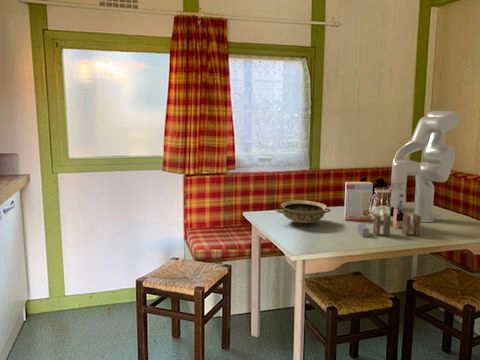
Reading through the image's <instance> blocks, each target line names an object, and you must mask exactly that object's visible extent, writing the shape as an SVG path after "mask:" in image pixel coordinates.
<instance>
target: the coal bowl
mask: <svg viewBox="0 0 480 360" xmlns="http://www.w3.org/2000/svg"><path fill="white" fill-rule="evenodd" d="M367 178H368V177H367V176H364V177H362V178H361V179H359V181H358V182H367ZM374 182H376V183H375V184H373V191H372V195H373V194H374V188H376V187H389V186H388V184H387V182H385V179H384V178H381V177H380V178H377V179H374Z"/></svg>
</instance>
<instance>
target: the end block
mask: <svg viewBox="0 0 480 360" xmlns="http://www.w3.org/2000/svg"><path fill="white" fill-rule="evenodd" d="M357 233H358V234H359V235H360V236H361V237H362V238H370V228H369V227H368V226H367V225H366V224H365V223H364V224H363V223H362V224H360V223H359V224H357Z"/></svg>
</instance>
